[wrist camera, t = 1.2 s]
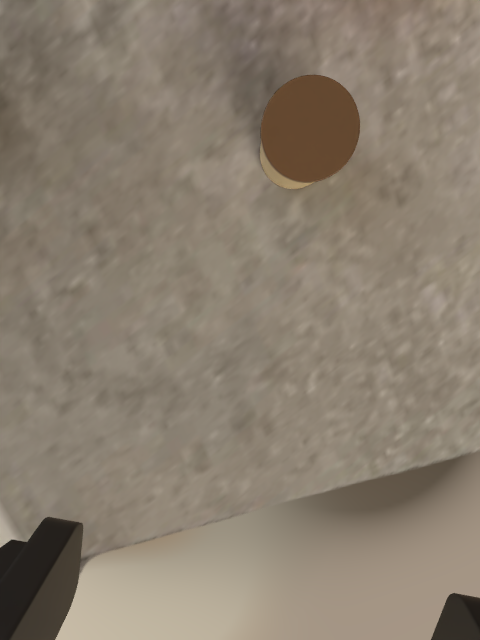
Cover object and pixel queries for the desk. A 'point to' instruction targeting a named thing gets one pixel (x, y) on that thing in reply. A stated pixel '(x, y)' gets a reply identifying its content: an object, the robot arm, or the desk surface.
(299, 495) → the desk surface
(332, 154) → the tea tin
